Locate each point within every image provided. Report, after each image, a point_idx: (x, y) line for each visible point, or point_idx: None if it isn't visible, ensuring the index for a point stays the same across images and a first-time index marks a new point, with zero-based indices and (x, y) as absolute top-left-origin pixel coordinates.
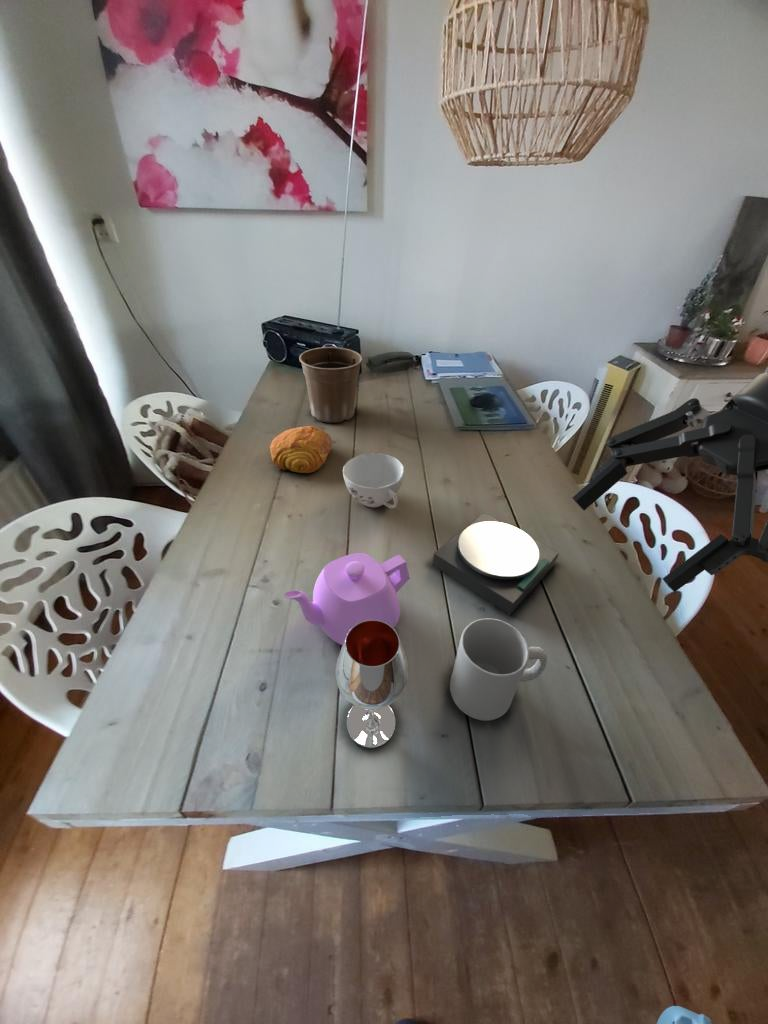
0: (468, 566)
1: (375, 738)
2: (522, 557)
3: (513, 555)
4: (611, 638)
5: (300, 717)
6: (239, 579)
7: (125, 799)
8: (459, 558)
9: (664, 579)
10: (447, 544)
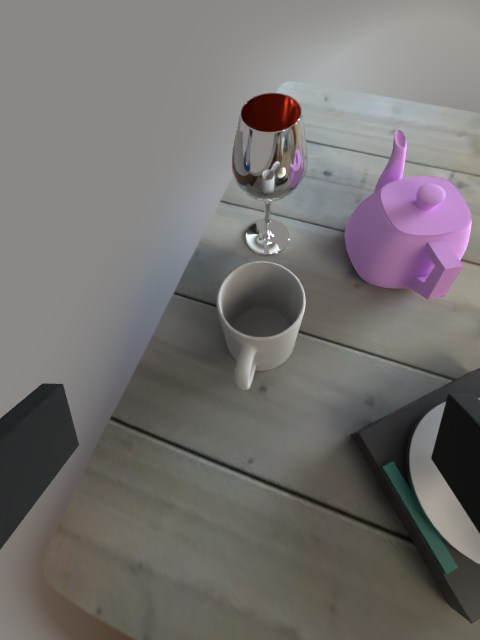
0: None
1: (252, 235)
2: (456, 508)
3: None
4: (268, 575)
5: (291, 193)
6: (464, 165)
7: None
8: None
9: (56, 386)
10: None
